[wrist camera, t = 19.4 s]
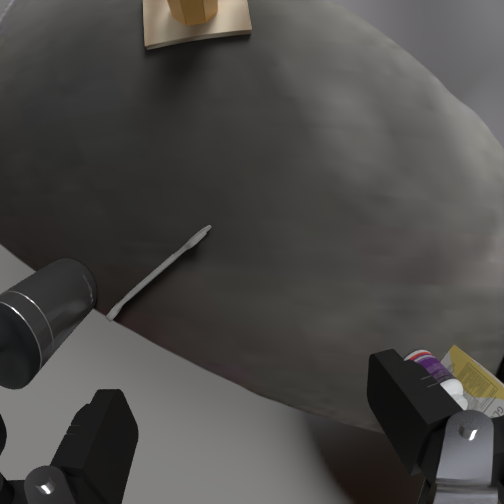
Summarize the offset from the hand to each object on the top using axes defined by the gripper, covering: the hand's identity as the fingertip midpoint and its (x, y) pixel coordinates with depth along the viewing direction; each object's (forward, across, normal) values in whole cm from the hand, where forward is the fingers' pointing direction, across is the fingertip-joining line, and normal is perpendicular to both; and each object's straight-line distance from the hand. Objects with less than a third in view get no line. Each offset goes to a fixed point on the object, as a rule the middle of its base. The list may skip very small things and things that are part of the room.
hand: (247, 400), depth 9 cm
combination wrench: (+34, +11, +5) cm, 36 cm away
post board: (+33, +1, -31) cm, 45 cm away
